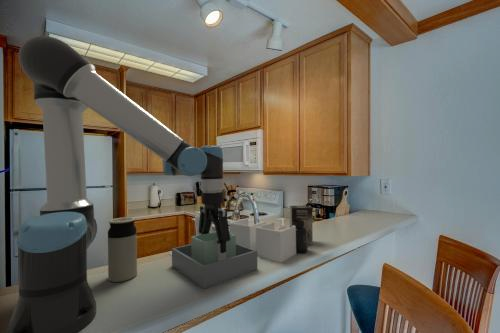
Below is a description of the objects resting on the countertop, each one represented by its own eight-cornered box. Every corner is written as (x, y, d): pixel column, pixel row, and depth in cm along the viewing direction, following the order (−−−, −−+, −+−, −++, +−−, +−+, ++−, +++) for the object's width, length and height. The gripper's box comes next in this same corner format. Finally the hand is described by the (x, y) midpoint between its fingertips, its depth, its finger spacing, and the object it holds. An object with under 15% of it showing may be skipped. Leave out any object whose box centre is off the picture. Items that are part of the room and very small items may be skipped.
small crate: (204, 268, 76) (204, 242, 76) (191, 260, 82) (191, 236, 83) (236, 258, 83) (235, 235, 83) (221, 252, 90) (221, 230, 90)
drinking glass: (209, 256, 94) (208, 216, 94) (192, 255, 95) (192, 216, 95) (215, 250, 100) (214, 213, 101) (199, 249, 102) (199, 213, 102)
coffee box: (291, 245, 105) (290, 207, 105) (289, 240, 111) (289, 205, 112) (313, 245, 105) (312, 207, 105) (310, 240, 111) (309, 205, 111)
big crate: (203, 288, 68) (203, 267, 68) (172, 265, 85) (171, 248, 85) (257, 269, 81) (257, 250, 81) (220, 252, 98) (220, 237, 98)
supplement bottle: (303, 247, 102) (303, 218, 102) (310, 253, 95) (309, 222, 95) (287, 248, 101) (287, 219, 101) (293, 254, 94) (293, 223, 94)
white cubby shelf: (229, 249, 102) (229, 222, 102) (246, 242, 111) (246, 218, 111) (280, 263, 86) (280, 231, 86) (296, 254, 95) (295, 225, 95)
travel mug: (141, 276, 77) (140, 219, 77) (113, 285, 71) (112, 223, 71) (131, 269, 82) (130, 215, 83) (105, 277, 77) (104, 219, 77)
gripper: (240, 192, 77) (242, 264, 77) (205, 189, 94) (207, 248, 94) (220, 194, 72) (222, 271, 72) (187, 190, 89) (189, 252, 89)
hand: (213, 258), depth 83 cm, fingers closed on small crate, 9 cm apart
